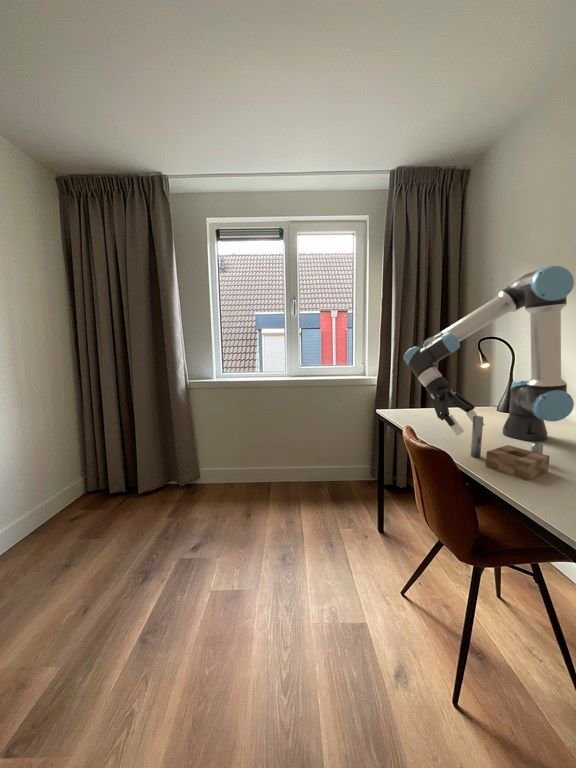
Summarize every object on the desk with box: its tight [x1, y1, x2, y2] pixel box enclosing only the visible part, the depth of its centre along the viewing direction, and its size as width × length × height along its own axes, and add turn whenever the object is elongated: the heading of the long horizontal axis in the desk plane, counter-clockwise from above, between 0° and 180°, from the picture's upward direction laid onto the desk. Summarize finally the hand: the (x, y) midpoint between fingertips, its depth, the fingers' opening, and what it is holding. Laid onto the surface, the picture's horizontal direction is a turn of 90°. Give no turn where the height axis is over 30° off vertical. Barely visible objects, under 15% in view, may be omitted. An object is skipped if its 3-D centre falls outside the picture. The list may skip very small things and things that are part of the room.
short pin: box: [530, 442, 544, 454], centre depth 109 cm, size 3×3×6 cm
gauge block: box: [485, 444, 550, 481], centre depth 103 cm, size 12×12×5 cm
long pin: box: [470, 415, 484, 459], centre depth 114 cm, size 3×3×14 cm
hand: (471, 430), depth 115 cm, fingers open, 13 cm apart
